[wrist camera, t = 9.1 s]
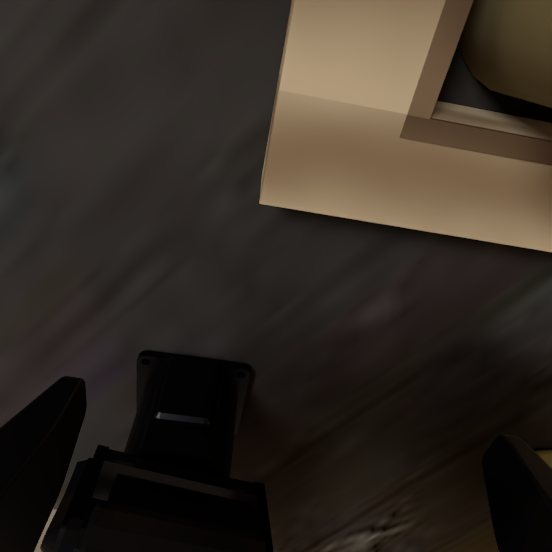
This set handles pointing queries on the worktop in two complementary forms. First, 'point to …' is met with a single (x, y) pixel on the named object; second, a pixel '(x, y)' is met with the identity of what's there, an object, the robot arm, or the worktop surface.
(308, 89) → the socket board
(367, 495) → the worktop surface
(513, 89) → the cork
